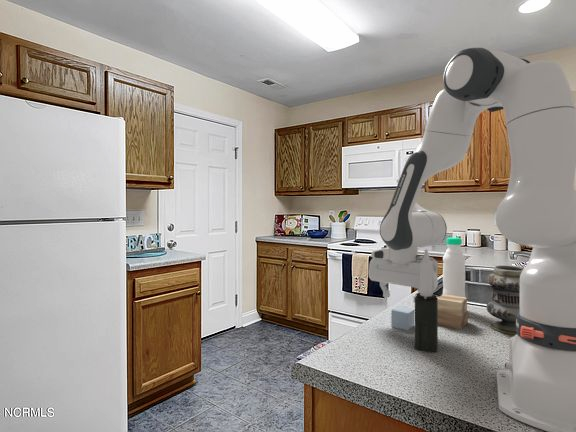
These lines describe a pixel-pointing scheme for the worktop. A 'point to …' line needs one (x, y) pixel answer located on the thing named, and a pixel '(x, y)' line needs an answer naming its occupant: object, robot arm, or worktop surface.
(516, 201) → the robot arm
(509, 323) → the apothecary jar
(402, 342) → the worktop surface
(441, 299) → the top block
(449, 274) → the water bottle
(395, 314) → the blue cube
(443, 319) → the bottom block
